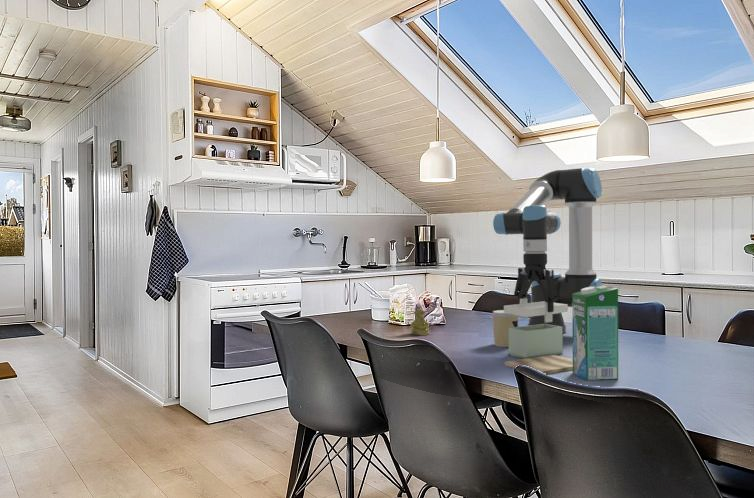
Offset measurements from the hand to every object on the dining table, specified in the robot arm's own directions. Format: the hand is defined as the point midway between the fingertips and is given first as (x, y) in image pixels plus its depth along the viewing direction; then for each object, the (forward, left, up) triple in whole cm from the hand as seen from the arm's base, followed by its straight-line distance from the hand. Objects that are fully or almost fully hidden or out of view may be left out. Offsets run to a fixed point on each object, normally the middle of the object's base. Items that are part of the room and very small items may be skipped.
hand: (535, 319), depth 192 cm
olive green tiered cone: (+10, -54, -12) cm, 56 cm away
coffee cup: (-3, -18, -12) cm, 21 cm away
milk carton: (+7, +30, -12) cm, 33 cm away
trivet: (+9, +14, -11) cm, 20 cm away
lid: (0, 0, +3) cm, 3 cm away
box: (0, 0, -11) cm, 11 cm away
